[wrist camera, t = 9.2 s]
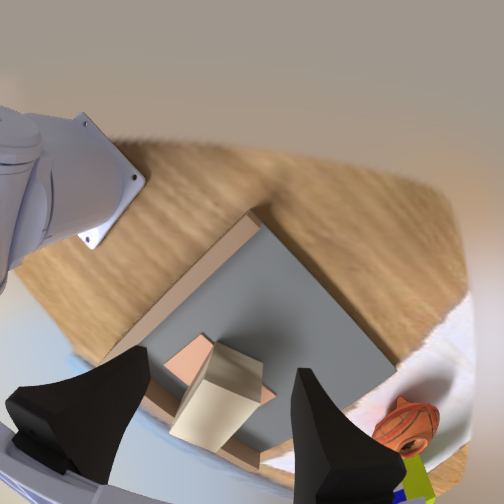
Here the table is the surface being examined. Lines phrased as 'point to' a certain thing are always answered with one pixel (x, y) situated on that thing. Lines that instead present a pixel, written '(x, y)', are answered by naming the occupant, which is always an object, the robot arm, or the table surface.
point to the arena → (254, 335)
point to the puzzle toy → (414, 483)
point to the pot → (408, 428)
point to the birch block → (219, 398)
